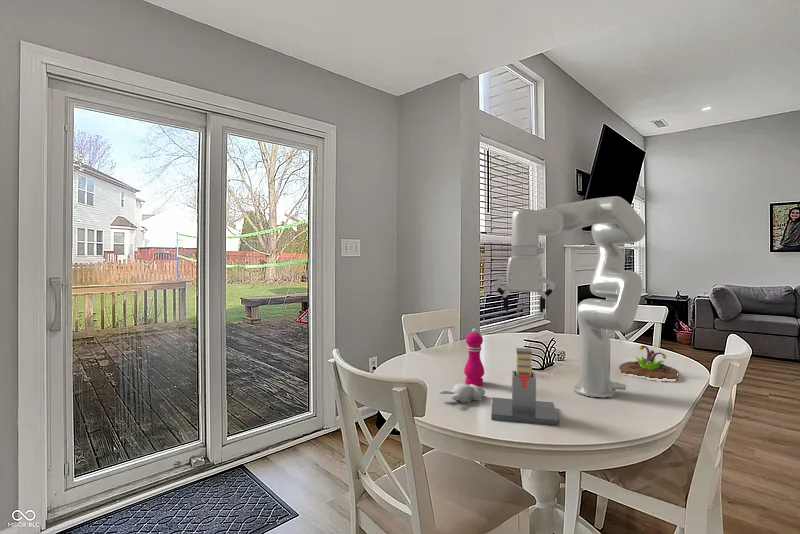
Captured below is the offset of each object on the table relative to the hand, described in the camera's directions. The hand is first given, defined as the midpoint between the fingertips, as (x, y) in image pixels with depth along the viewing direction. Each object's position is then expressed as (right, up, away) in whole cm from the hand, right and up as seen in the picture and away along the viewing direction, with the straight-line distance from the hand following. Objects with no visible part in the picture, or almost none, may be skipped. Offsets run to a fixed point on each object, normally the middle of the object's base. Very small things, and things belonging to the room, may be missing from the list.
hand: (524, 311), depth 123 cm
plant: (+61, -29, +42) cm, 79 cm away
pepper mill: (-9, -29, +29) cm, 42 cm away
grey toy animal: (-16, -30, +12) cm, 36 cm away
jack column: (0, -28, +1) cm, 28 cm away
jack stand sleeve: (0, -30, +1) cm, 30 cm away
